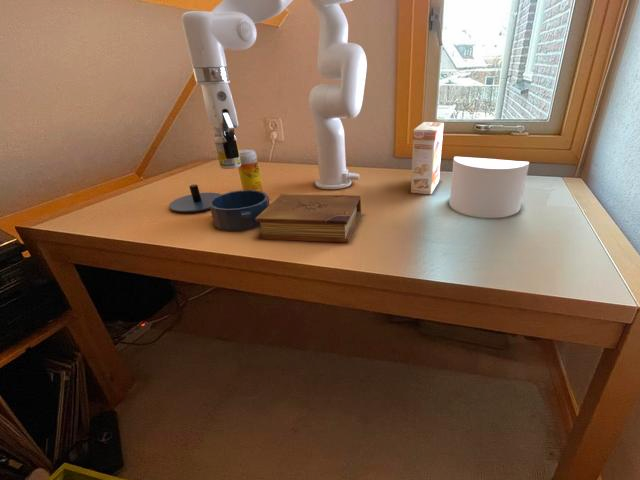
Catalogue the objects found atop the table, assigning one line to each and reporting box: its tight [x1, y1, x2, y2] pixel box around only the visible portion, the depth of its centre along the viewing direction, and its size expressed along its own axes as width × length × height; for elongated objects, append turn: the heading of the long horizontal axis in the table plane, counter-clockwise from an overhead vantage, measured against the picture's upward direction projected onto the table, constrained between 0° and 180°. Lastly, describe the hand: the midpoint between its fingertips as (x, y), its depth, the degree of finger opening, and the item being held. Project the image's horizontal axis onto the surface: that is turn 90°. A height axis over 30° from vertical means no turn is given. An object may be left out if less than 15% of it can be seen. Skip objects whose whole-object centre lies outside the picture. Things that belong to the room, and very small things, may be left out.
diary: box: [255, 193, 362, 243], centre depth 98 cm, size 23×19×6 cm
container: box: [448, 155, 530, 219], centre depth 105 cm, size 20×20×13 cm
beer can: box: [237, 148, 264, 192], centre depth 116 cm, size 6×6×15 cm
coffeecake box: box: [410, 121, 445, 195], centre depth 119 cm, size 15×7×20 cm, turn 160°
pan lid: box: [168, 183, 223, 213], centre depth 114 cm, size 16×16×6 cm
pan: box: [209, 189, 271, 232], centre depth 103 cm, size 16×21×6 cm
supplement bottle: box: [214, 126, 241, 170], centre depth 94 cm, size 5×5×10 cm
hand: (228, 155), depth 95 cm, fingers closed on supplement bottle, 5 cm apart
